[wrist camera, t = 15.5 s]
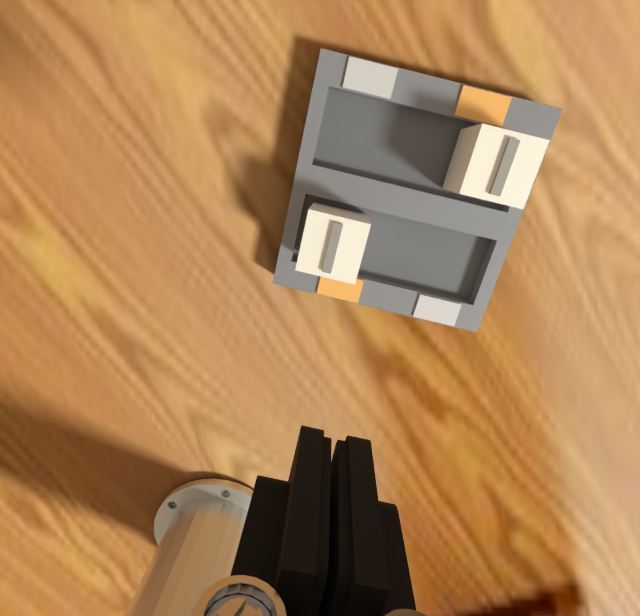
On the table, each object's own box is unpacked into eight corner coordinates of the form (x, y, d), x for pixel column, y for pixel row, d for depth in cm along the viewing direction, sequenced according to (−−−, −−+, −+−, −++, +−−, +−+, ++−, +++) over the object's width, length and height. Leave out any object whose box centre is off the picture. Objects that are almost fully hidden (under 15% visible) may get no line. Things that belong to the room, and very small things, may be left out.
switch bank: (469, 322, 35) (477, 333, 33) (277, 276, 35) (272, 284, 33) (547, 112, 30) (563, 108, 28) (322, 55, 30) (320, 47, 28)
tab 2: (353, 266, 33) (354, 285, 28) (302, 254, 33) (294, 271, 28) (367, 214, 32) (371, 224, 27) (314, 201, 32) (308, 209, 27)
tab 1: (496, 201, 31) (525, 210, 26) (441, 188, 31) (460, 194, 26) (517, 143, 30) (552, 139, 25) (460, 129, 30) (483, 122, 25)
